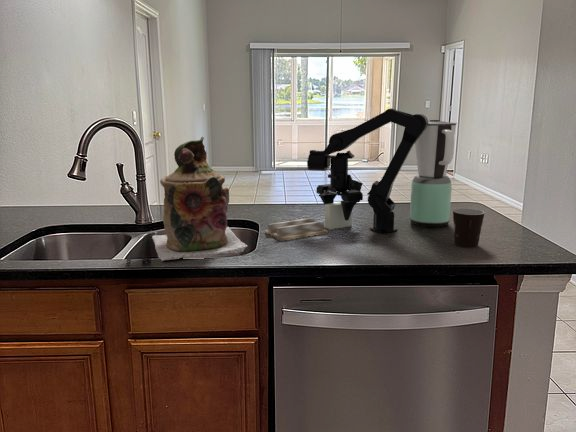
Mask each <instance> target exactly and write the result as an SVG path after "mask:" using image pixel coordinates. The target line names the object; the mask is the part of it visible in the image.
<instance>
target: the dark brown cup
mask: <svg viewBox="0 0 576 432" xmlns="http://www.w3.org/2000/svg"><path fill="white" fill-rule="evenodd" d="M484 217H485V211H483V210H481V209H476V208H469V207H468V208H466V207H465V208H456V209H453V210H452V219H453V220H452V221H453V235H454V238H453V239H454V245H455V246H457V247H459V248H464V249H465V248H466V249H474V248H477V247H478V246H479V243H480V236H481V233H482V227H483V224H484V223H483V222H484Z"/></svg>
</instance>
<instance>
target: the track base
mask: <svg viewBox="0 0 576 432" xmlns="http://www.w3.org/2000/svg"><path fill="white" fill-rule="evenodd" d="M315 220H316V218H315V217H307V218H301V219H300V218H299V219H295V220H288V221H282V222H274V223H268V224H267V229H264V234H265V233H267V234H266V235H268V234H270V235H271V236H270V235H269V236H270V237H272V236H273V237H272V238H274V237H275V238H274V239H276V238H278V239H279V240H278V239H277V240H278V241H280V240H282V241H281V242H285V241H284V240H287V241H290V240H289V239H293V240H297V239H296V238H298V239H303V238H302V237H304V238H309V237H308V236H310V237H315V236H314V235H316V236H321V235H326V234H327V235H328V234H329V229H326V228H325V220H320V221H315Z"/></svg>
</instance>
